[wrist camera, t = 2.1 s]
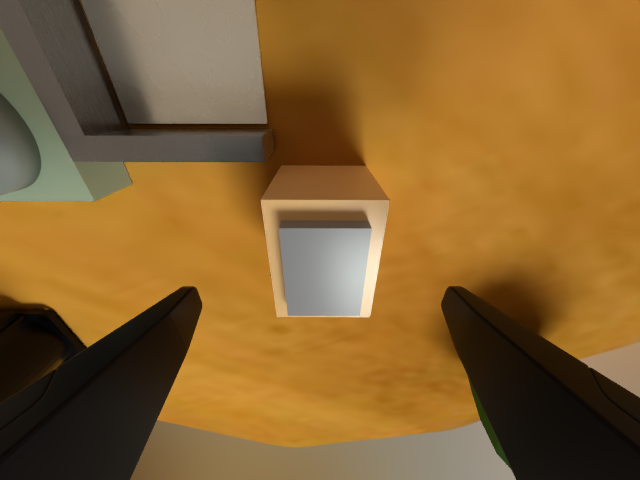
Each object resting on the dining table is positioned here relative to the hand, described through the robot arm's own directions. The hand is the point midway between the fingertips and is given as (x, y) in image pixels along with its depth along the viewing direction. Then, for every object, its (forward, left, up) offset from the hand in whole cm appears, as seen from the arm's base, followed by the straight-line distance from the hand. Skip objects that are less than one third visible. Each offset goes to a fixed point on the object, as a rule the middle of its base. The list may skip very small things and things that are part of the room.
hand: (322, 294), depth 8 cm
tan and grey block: (0, 0, -6) cm, 7 cm away
